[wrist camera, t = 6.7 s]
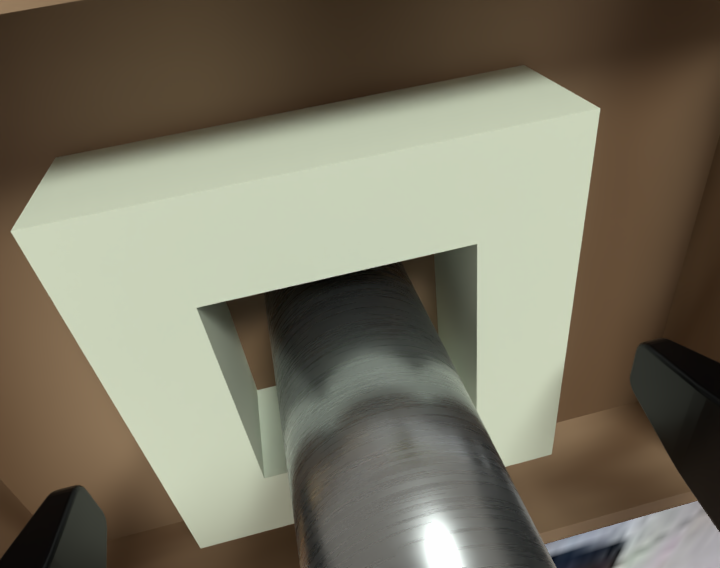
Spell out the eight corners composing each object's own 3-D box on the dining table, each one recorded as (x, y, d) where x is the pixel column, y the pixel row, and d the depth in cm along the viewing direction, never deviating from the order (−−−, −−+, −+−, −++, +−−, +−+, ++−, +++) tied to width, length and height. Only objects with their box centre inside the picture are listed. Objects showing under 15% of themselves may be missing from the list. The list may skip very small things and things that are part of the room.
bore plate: (523, 65, 10) (600, 108, 8) (507, 379, 14) (551, 454, 12) (55, 157, 9) (10, 230, 7) (203, 456, 14) (200, 548, 12)
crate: (814, -199, 9) (1096, -240, 6) (647, 393, 17) (730, 491, 14) (-439, 1, 7) (-867, 72, 4) (58, 547, 15) (22, 692, 13)
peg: (399, 215, 11) (668, 687, 4) (410, 327, 13) (612, 775, 6) (248, 250, 10) (307, 804, 4) (282, 359, 12) (357, 862, 6)
